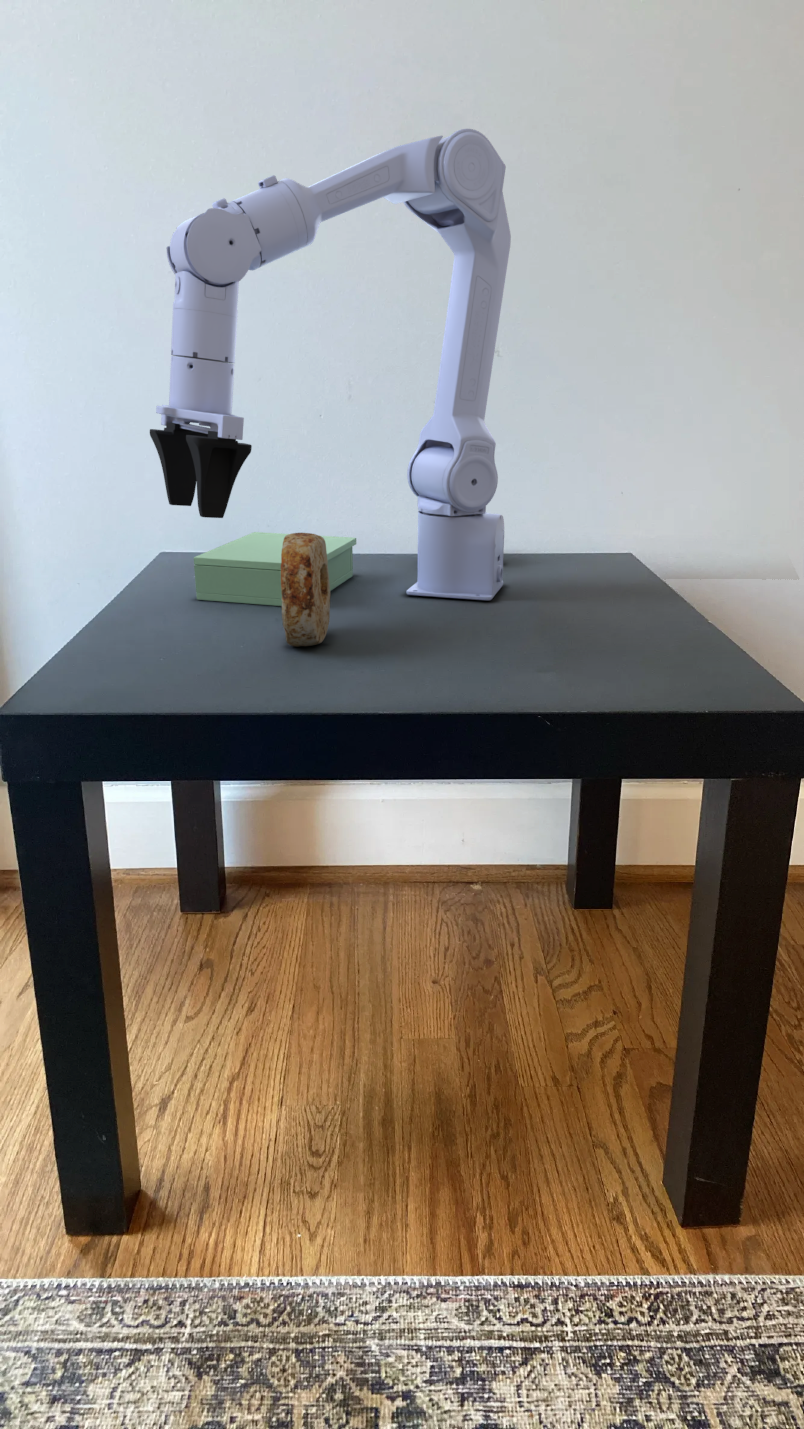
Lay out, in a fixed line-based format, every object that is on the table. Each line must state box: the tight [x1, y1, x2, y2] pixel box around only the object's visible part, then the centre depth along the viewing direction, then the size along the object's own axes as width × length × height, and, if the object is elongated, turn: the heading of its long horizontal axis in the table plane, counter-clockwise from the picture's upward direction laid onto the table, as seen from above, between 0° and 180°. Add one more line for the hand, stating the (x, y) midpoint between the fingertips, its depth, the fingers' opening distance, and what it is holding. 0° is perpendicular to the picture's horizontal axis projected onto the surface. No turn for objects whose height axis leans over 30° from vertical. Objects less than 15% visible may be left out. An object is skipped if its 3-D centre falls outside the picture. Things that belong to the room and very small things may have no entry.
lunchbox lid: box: [193, 531, 357, 570], centre depth 106 cm, size 13×16×1 cm
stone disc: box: [281, 532, 331, 647], centre depth 85 cm, size 10×4×10 cm, turn 176°
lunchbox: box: [193, 546, 354, 607], centre depth 106 cm, size 13×16×4 cm
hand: (195, 511), depth 90 cm, fingers open, 7 cm apart
